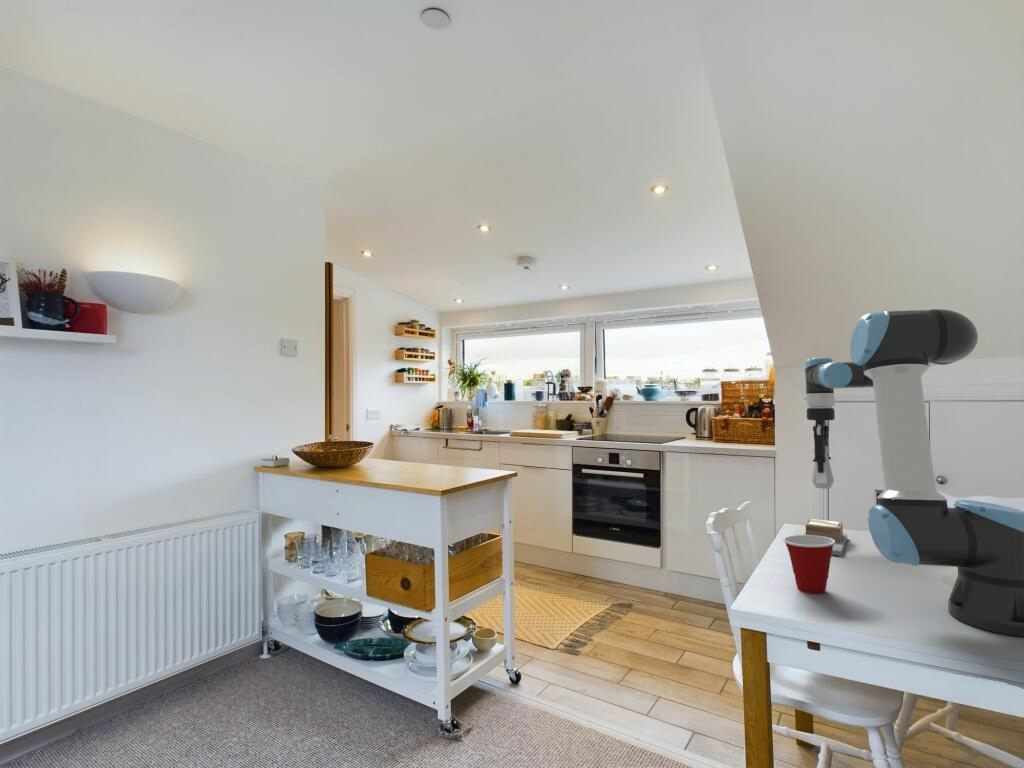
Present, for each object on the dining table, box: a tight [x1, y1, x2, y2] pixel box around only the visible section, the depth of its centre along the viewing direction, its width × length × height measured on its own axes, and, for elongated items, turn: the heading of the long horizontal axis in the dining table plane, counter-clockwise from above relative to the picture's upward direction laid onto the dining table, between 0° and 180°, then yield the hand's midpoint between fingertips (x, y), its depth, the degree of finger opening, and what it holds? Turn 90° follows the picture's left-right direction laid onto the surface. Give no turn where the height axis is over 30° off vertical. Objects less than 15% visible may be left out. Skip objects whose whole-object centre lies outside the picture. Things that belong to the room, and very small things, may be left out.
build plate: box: [803, 531, 848, 557], centre depth 158 cm, size 22×11×2 cm, turn 144°
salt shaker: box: [811, 445, 835, 490], centre depth 162 cm, size 6×6×13 cm
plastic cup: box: [782, 534, 835, 595], centre depth 122 cm, size 11×11×12 cm
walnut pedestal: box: [805, 518, 844, 542], centre depth 161 cm, size 9×9×4 cm
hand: (822, 481), depth 162 cm, fingers closed on salt shaker, 6 cm apart
